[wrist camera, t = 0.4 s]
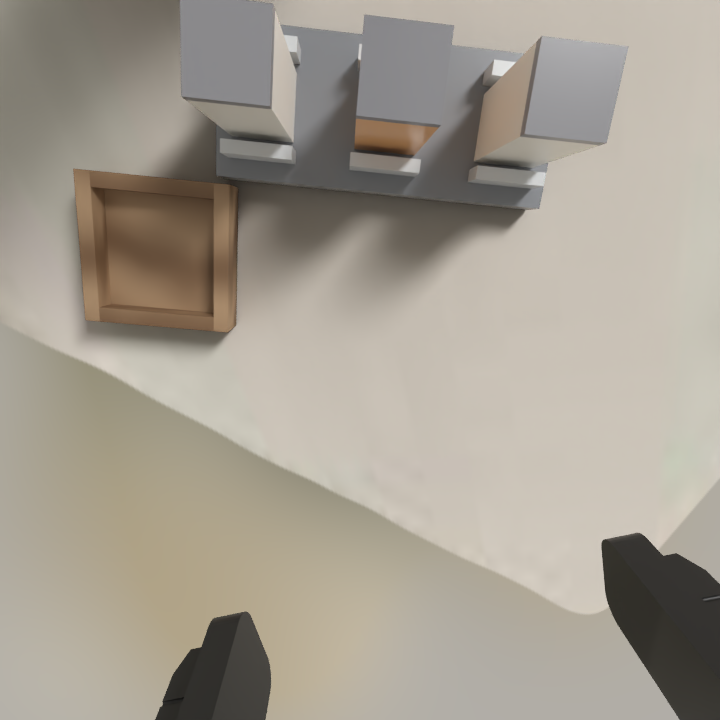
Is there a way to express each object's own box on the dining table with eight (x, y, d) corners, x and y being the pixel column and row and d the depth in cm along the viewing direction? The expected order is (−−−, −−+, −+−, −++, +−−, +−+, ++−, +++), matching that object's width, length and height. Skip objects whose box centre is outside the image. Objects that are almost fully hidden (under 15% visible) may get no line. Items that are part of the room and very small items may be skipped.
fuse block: (225, 31, 29) (153, -83, 18) (554, 69, 30) (665, -17, 19) (224, 179, 31) (160, 153, 21) (528, 209, 33) (613, 200, 22)
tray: (94, 173, 31) (73, 168, 29) (238, 187, 32) (229, 184, 29) (104, 313, 34) (85, 320, 32) (236, 325, 34) (227, 332, 32)
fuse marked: (360, 80, 28) (364, 14, 20) (422, 87, 28) (454, 25, 20) (354, 149, 29) (356, 115, 21) (414, 155, 29) (441, 124, 21)
